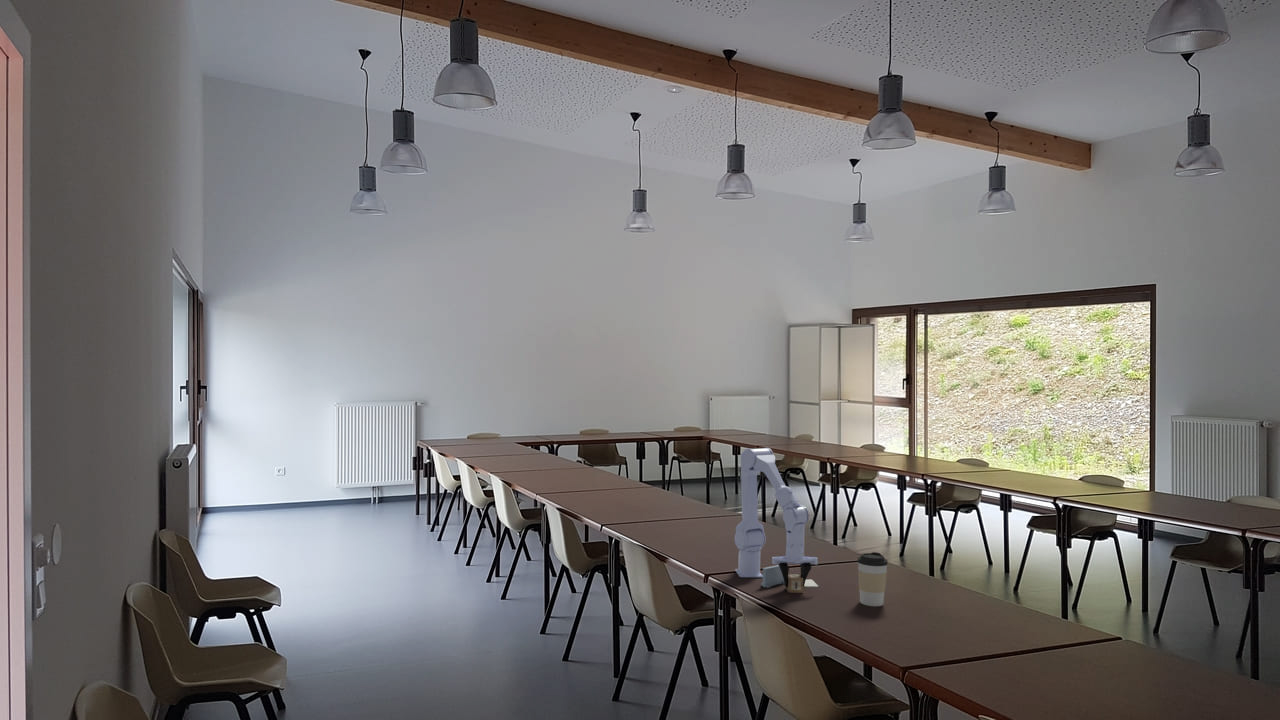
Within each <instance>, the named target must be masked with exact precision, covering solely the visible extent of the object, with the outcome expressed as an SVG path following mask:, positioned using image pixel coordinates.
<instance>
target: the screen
mask: <svg viewBox="0 0 1280 720" xmlns="http://www.w3.org/2000/svg"><path fill="white" fill-rule="evenodd" d="M762 575H763V577H762V581H761V583H760V586H761V587H762V586H763V587H762V588H766V587H767V588H766V589H768V588H769V589H770V588H772V587H774V586H777V584H778V585H782V584H783V585H784V579H783V575H782V572H781V569H780V567H779V565H778V564H775V565H773V566H767V567H763V568H762Z"/></svg>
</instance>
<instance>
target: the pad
mask: <svg viewBox="0 0 1280 720" xmlns="http://www.w3.org/2000/svg"><path fill="white" fill-rule="evenodd" d="M803 588H819V585H818V584H817V583H816V582H815V581H814V580H813V579H806V581H805V585H804V587H803Z"/></svg>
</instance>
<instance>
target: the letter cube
mask: <svg viewBox="0 0 1280 720" xmlns="http://www.w3.org/2000/svg"><path fill="white" fill-rule="evenodd" d="M785 590H786V591H787V592H788V593H790V594H795V593H796V594H799V593H800V594H802V593H803V594H804V587H803V578H802V576H801V574H788V587H785Z"/></svg>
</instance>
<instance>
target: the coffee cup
mask: <svg viewBox="0 0 1280 720" xmlns="http://www.w3.org/2000/svg"><path fill="white" fill-rule="evenodd" d="M888 561H889V560H888V559H886V558H885V556H884V555H882V554H881V553H879V552H875V551H872V552H866V553H865V552H864V553H862V554H861V555H860V556H858V557H857V561H856V562H857V565H858V566H857V567H858V569H857V575H858V577H857V578H858V589H859V603H860V604H862V605H864V606H868V607H881V606H883V605H884V601H885V600H884V599H885V592H886V583H887V575H888V574H887V573H888V571H887V569H888V568H887V567H888V564H889V563H888Z"/></svg>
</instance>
